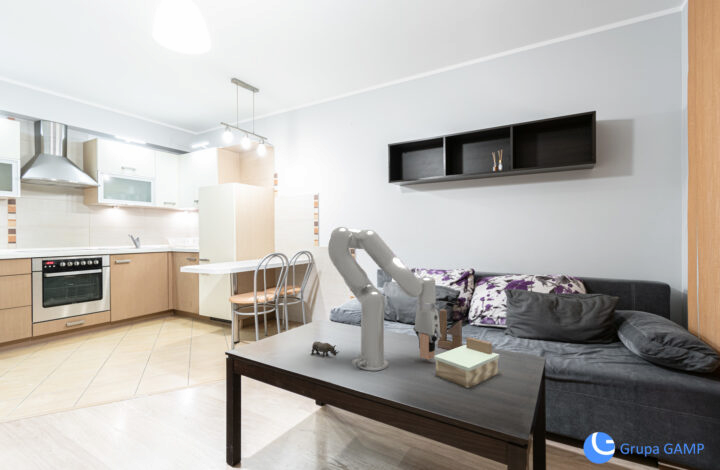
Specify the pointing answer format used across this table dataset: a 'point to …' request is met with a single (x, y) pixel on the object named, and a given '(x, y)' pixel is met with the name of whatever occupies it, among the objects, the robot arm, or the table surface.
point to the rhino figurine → (323, 348)
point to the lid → (469, 355)
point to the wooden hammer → (449, 332)
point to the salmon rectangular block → (425, 347)
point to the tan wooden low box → (466, 373)
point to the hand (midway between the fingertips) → (427, 349)
